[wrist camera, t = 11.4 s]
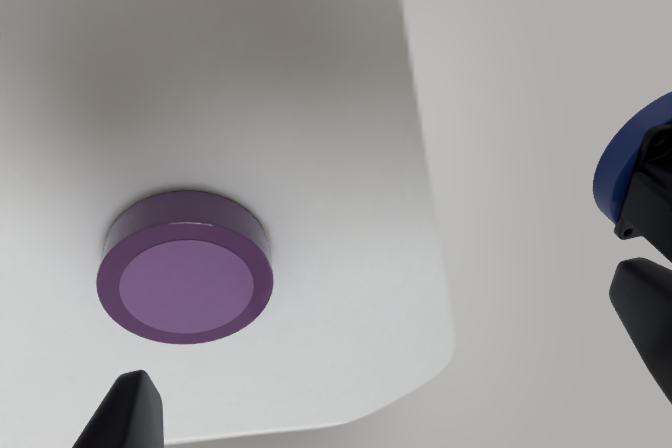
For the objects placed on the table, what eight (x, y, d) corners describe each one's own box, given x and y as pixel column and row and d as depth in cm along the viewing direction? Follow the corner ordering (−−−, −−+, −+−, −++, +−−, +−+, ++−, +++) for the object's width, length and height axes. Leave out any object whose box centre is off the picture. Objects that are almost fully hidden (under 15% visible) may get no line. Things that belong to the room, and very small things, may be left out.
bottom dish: (250, 174, 19) (254, 205, 18) (281, 291, 23) (287, 325, 22) (75, 210, 19) (63, 245, 17) (139, 324, 23) (134, 360, 21)
